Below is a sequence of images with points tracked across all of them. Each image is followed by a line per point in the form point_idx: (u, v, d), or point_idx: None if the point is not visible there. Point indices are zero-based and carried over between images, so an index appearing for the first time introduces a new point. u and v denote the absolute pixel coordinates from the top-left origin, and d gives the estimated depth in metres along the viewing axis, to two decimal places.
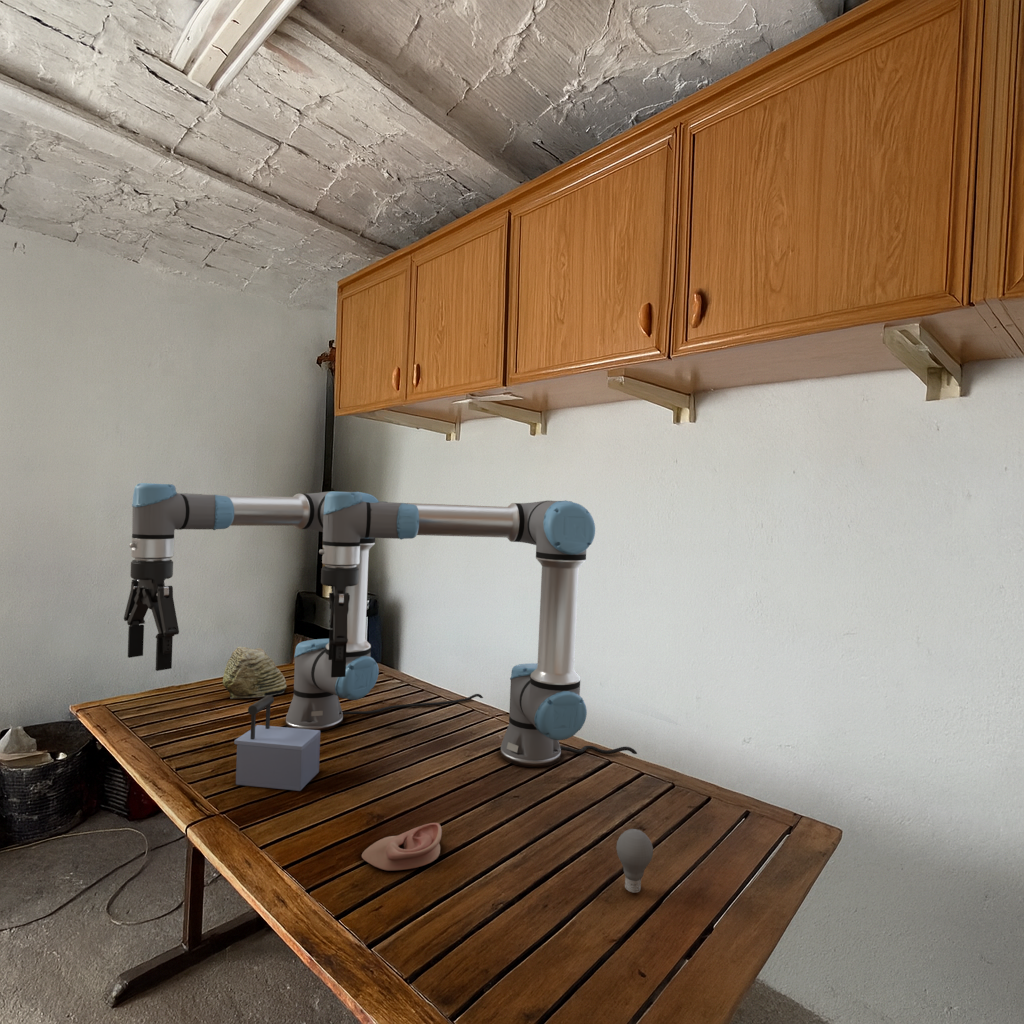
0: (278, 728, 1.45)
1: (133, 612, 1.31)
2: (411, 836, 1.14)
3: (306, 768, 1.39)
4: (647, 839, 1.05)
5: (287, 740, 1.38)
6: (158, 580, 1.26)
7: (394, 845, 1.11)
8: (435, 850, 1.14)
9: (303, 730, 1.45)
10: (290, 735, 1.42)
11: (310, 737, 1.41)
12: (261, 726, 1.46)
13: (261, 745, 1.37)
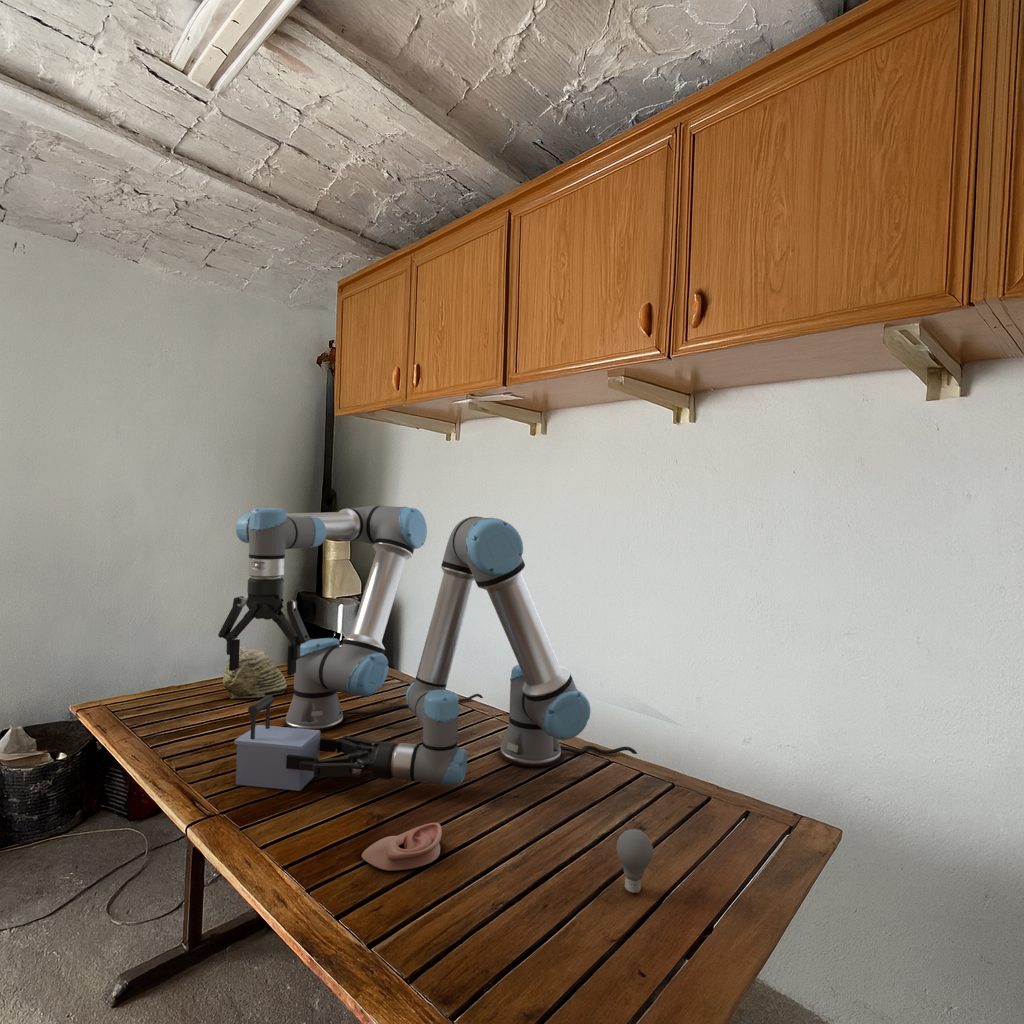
0: (278, 728, 1.45)
1: (239, 627, 1.41)
2: (411, 836, 1.14)
3: None
4: (647, 839, 1.05)
5: (287, 740, 1.38)
6: (280, 595, 1.41)
7: (394, 845, 1.11)
8: (435, 850, 1.14)
9: (303, 730, 1.45)
10: (290, 735, 1.42)
11: (310, 737, 1.41)
12: (261, 726, 1.46)
13: (261, 745, 1.37)
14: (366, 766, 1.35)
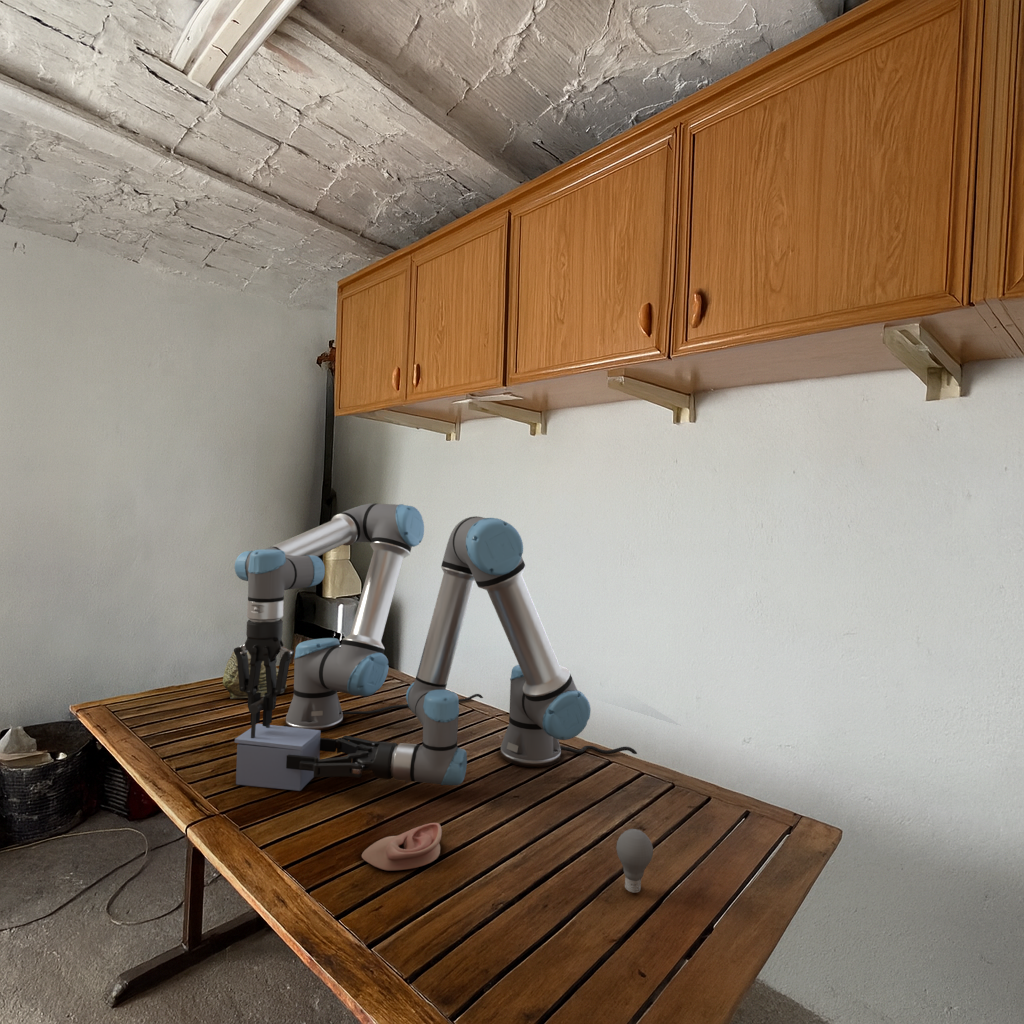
0: (278, 727, 1.45)
1: (252, 677, 1.41)
2: (411, 836, 1.14)
3: None
4: (647, 839, 1.05)
5: (287, 740, 1.38)
6: (279, 637, 1.41)
7: (394, 845, 1.11)
8: (435, 850, 1.14)
9: (303, 730, 1.45)
10: (290, 734, 1.42)
11: (310, 737, 1.41)
12: (261, 725, 1.46)
13: (261, 744, 1.37)
14: (366, 766, 1.35)
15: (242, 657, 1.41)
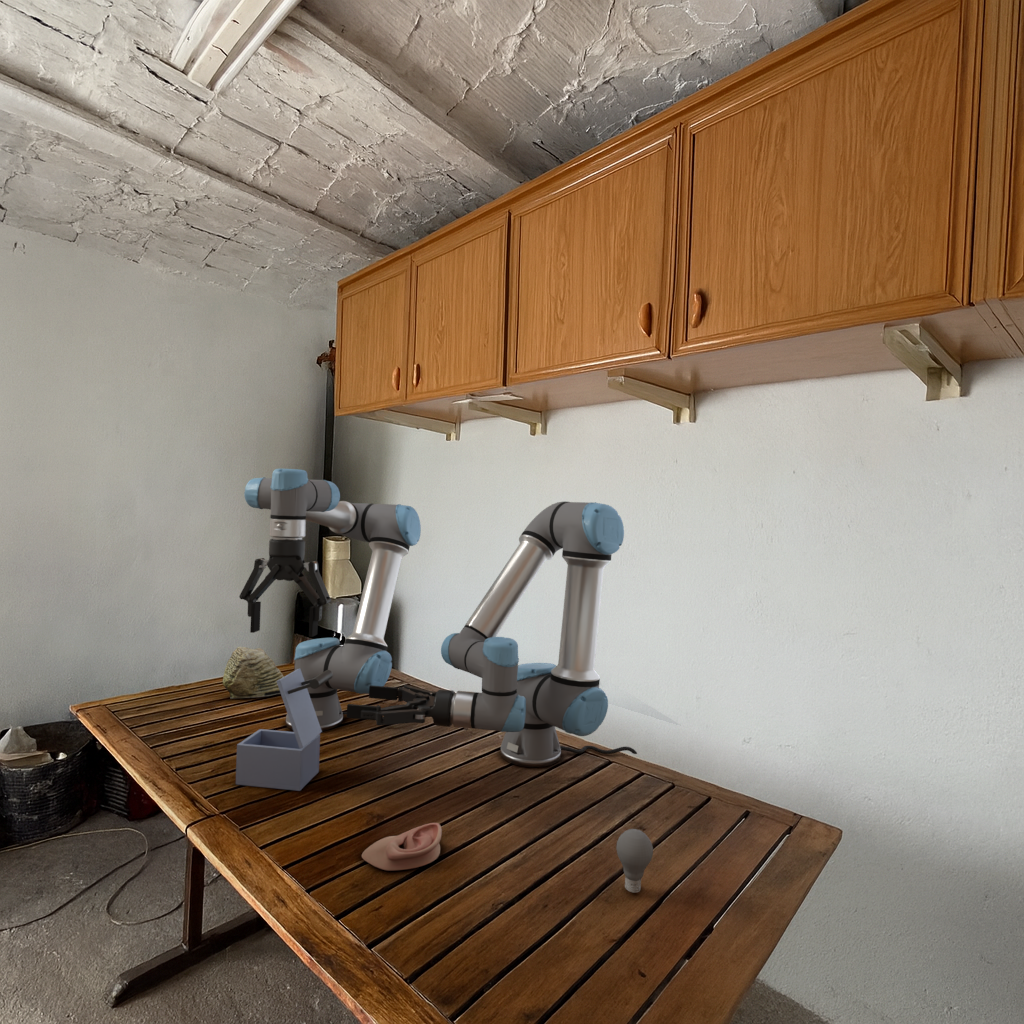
0: (306, 693, 1.44)
1: (260, 589, 1.40)
2: (411, 836, 1.14)
3: (306, 768, 1.39)
4: (647, 839, 1.05)
5: (301, 725, 1.38)
6: (302, 556, 1.40)
7: (394, 845, 1.11)
8: (435, 850, 1.14)
9: (315, 717, 1.44)
10: (306, 716, 1.41)
11: (313, 737, 1.41)
12: (300, 675, 1.45)
13: (286, 708, 1.36)
14: (426, 712, 1.34)
15: (258, 570, 1.41)
